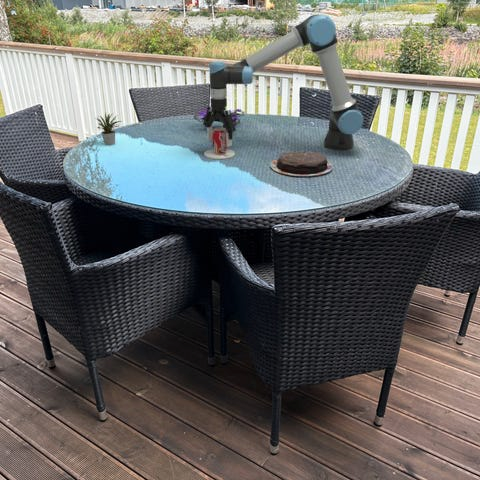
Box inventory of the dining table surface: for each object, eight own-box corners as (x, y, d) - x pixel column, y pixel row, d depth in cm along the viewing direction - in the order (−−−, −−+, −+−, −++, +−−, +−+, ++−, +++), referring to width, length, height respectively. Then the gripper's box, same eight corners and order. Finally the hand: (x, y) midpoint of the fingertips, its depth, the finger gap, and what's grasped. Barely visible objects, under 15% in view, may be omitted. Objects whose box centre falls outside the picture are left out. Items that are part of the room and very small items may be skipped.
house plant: (106, 150, 230) (101, 117, 223) (89, 145, 238) (84, 113, 230) (128, 143, 240) (124, 112, 233) (111, 139, 248) (107, 108, 240)
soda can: (216, 156, 219) (215, 130, 213) (210, 152, 224) (209, 127, 219) (229, 154, 221) (229, 129, 216) (223, 150, 227) (223, 126, 222)
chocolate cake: (259, 163, 213) (260, 149, 210) (311, 156, 223) (312, 142, 220) (288, 182, 190) (289, 167, 187) (345, 173, 200) (346, 159, 197)
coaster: (241, 154, 223) (241, 153, 223) (218, 161, 214) (218, 159, 214) (220, 148, 233) (220, 147, 232) (197, 154, 223) (197, 153, 223)
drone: (237, 121, 245) (186, 119, 248) (237, 139, 249) (187, 137, 253) (246, 106, 280) (201, 105, 283) (246, 122, 285) (201, 120, 288)
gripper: (194, 95, 216) (196, 139, 226) (231, 102, 201) (231, 149, 210) (206, 93, 221) (208, 136, 231) (243, 100, 205) (243, 146, 215)
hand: (219, 143), depth 221 cm, fingers open, 13 cm apart
